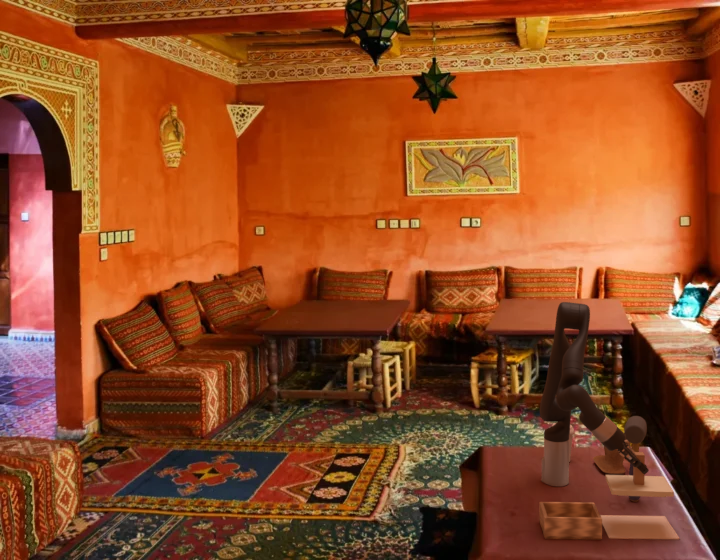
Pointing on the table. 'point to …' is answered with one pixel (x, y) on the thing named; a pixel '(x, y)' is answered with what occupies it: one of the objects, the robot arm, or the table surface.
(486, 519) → the table surface
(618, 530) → the mat
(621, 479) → the lid
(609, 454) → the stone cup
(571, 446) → the coffee cup
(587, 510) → the wooden box
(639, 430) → the rubber mallet
